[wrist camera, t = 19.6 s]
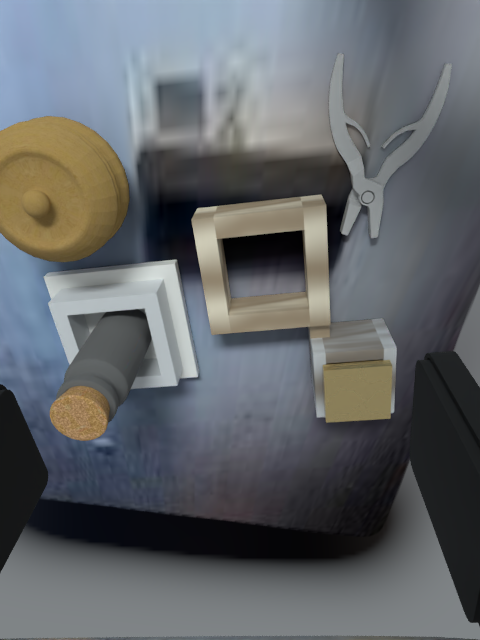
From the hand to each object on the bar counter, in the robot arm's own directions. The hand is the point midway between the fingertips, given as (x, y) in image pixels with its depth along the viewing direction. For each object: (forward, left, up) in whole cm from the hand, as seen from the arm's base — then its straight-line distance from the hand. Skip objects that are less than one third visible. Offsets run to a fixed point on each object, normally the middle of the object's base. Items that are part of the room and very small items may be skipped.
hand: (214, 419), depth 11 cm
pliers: (+1, +11, -37) cm, 38 cm away
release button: (+22, +8, -34) cm, 42 cm away
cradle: (+16, -16, -36) cm, 43 cm away
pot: (0, -17, -36) cm, 40 cm away
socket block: (+15, +3, -36) cm, 39 cm away
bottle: (+16, -16, -35) cm, 42 cm away
